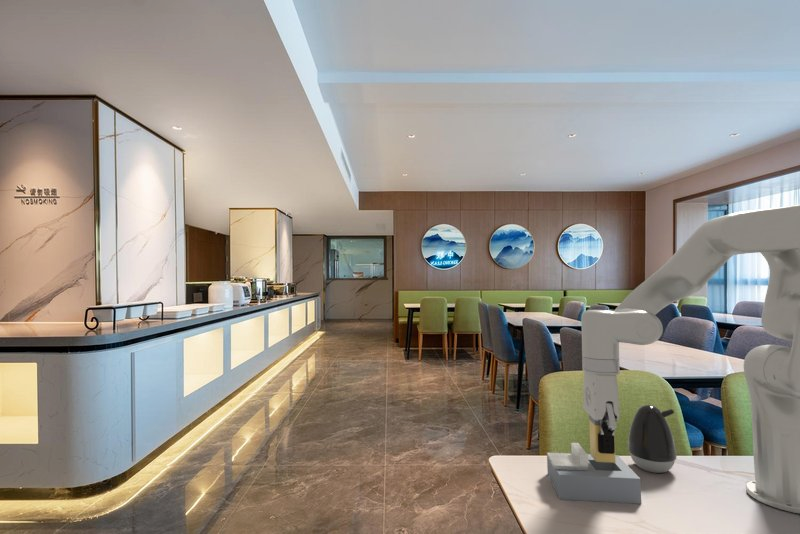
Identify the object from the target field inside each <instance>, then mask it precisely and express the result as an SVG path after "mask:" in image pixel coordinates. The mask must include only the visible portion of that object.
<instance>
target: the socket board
mask: <svg viewBox="0 0 800 534" xmlns="http://www.w3.org/2000/svg"><path fill="white" fill-rule="evenodd" d="M567 454H571V453H570V452H567ZM587 455H588V471H584V470H562V469H554V468H553V466H552V464H551V462H550V460H549V458H548V456H547V455H546V461H547V462H546V463H547V465H546V466H547V468H546V469H547V476H548V479H549V480H550V482H551V483H552V486H553V488H554V490H555V492H556V495H557V496H558V499H559V500H566V501H568V500H569V501H585V502H588V501H589V502H603V503H621V504H622V503H624V504H640V505H641V504H642V488H641V487H642V482H641V478H640V476H638V474H636V472H635V471H633V469H632V468H631V467H630V466H629V465H628V464H627V463H626V462H625V461H624V460H623V459H622V458H621V457H620V455H616V454H615V460H616V463H611V462H596V461H595V460H594V458H593V457H592V456H591V455H590V453H587Z"/></svg>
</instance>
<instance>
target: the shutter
mask: <svg viewBox="0 0 800 534" xmlns="http://www.w3.org/2000/svg"><path fill="white" fill-rule="evenodd" d="M570 446H571V448H570V449H571V450H570V451H571V454H567V453H568V452H567V453H566V452H546V457H547V456H548V458H549V460H550V462H551V464H552V466H553V468H554V469H562V470H584V471H588V455H587V454H588V453H587V452H586V450H584V448H583V447H582V445H580V443H579V442H571V443H570Z"/></svg>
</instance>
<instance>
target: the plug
mask: <svg viewBox="0 0 800 534" xmlns="http://www.w3.org/2000/svg"><path fill="white" fill-rule="evenodd" d="M603 419H607V417H603ZM588 421H589V422H588V423H589V454H590V455H591V456H592V457H593V458H594V460H595V461H596V462H611V463H616V460H615V455H616V452H615V453H614V454H606V453H600V452H599V451H598V434H600V432H599V420H598V421H596V420H594V419H593V418H592V417H591V416H590V415H589V414H588ZM604 425H607V423H603V427H604ZM615 430H616V428H615V429H614V431H615ZM614 444H615V445H616V434H615V435H614Z"/></svg>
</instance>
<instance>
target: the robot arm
mask: <svg viewBox="0 0 800 534" xmlns="http://www.w3.org/2000/svg"><path fill="white" fill-rule="evenodd" d="M754 253H756V254H757V253H758V254H759V253H760V254H761V255H762V257H763V258H764V259H765V260H766V262H767V265H768V269H769V277H768V284H767V289H766V294H765V299H764V303H763V307H762V312H761V316H760V317H761V325H762V328H763V330H764V331H765V332H766V333H767V334H768V335H770V336H772V337H774V338H778V339H781V340H784V341H791V342H792V343H791V347H789V346H787V345H786V346H785V345H779V344H764V345H763V344H761V345H759V346H755V347H753V348H752V349H751V350H749V352H747V354H746V355H745V357H744V360H743V373H744V374H743V375H744V378H745V381H746V385H747V389H748V394H749V400H750V414H751V428H752V429H751V432H752V448H753V449H752V450H753V452H752V453H753V465H754V466H753V469H754V480H751V481H748V482H746V484H745V490H746V492H747V493H748V495H749V496H751V498H754V499H755V500H757V501H759V502H760V503H763V504H764V505H766V506H767V505H768V506H770V507H773V508H776V509H779V510H782V511H785V512H789V513H794V514H800V204H797V205H789V206H782V207H781V206H780V207H773V208H766V209H765V208H764V209H763V208H762V209H755V210H747V211H739V212H734V213H728V214H726V215H722V216H718V217H714V218H712V219H708V220H707V221H705V222H704V223H703V224H701V225H700V226H699V227H698V228H697V229H696V230H695V231H694V232H693V233H692V234H691V235H690V237H688V239H687V240H686V241H684V243H683V244H682V245H680V247H679V248H678V249H677V251H675V253H674V254H672V256H671V257H670V258H669V259H668V260H667V261H666V262H665V263H664V264H663V265H662V266H661V267H660V268H659V269H658V270H656V271H655V272H654V273H652V274H651V275H650V276H648V278H646V279H645V280H644V281H643V282H641V283H640V284H639V285H638V286H636V287H635V288H634V289H633V290H632V291H631V292H630V293H629V294H628V295H627V296H626V297H625V298H623V300H622V302H620V303H619V305H618V306H617V307H616V308H615V309H614V310H608V309H589V310H588V309H587V310H584V311H583V312H582V314H581V319H580V320H581V322H580V323H581V358H582V359H581V362H582V364H581V366H582V367H581V368H582V370H581V371H583V372H584V373H583V385H582V389H583V390H582V391H583V393H582V408H583V411H585V412H586V413H587V415H588V416H589V415H590V416H591V417H592V418H593V419H594V420H596V421H598V420H599V432H600V434H598V451H599V452H600V453H606V454H614V453H615V454H616V443H615V444H614V435H615V436H616V432H615V431H614V429H615V430H616V429H617V422H618V421H619V419H620V399H619V388H618V387H619V386H618V378H617V375H618V376H619V375H620V374H621V373H620V369H621V368H620V366H621V365H620V343H624V344H631V345H636V346H637V345H638V346H647V345H651V344H653V343H655V342H657V341H658V340H659V339H660V338H661V337H662V335H663V332H664V330H663V329H664V328H663V324H662V322H661V319H659V317H657V316H656V315H657V314H658V313H660V311H661V310H663V309H664V308H666V307H668V306H669V305H671V304H673V303H674V302H675V303H676V302H677V301H680V300H682V299H685V298H688V297H690V296H692V295H694V294H696V293H697V292H699V291H701V290H702V288H703V287H704V286H705V285H706V284H707V283H708V282H709V281H710V280H711V279H712V278H713V276H715V274H716V273H718V271H720V269H721V268H722V267H723V266H724V265H725V264H726V263H727V262H728V261H729V260H730V259H731V258H732V257H733V256H735V255H743V254H754ZM603 417H607V419H603ZM603 423H607V425H604V427H603Z"/></svg>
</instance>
